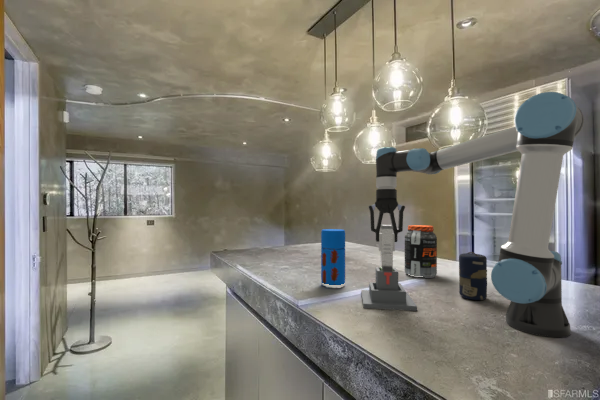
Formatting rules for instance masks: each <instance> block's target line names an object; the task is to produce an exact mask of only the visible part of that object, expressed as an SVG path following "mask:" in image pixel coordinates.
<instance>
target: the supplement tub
mask: <svg viewBox="0 0 600 400" xmlns="http://www.w3.org/2000/svg"><path fill="white" fill-rule="evenodd" d="M437 238H438V237H437V234H436V233H435V232H434V225H425V224H423V225H420V224H419V225H418V224H416V225H415V224H413V225H412V224H409V225H408V226H407V231H406V233H405V234H404V273H405V274H406V273H407V274H410V275H414V276H423V277H425V278H424V279H429V278H430V279H433V278H435V277H437V275H438V265H437V264H438V239H437ZM407 274H406V275H407Z"/></svg>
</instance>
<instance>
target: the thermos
mask: <svg viewBox="0 0 600 400" xmlns="http://www.w3.org/2000/svg"><path fill="white" fill-rule="evenodd" d="M320 235H321V236H320V239H321V240H320V245H321V246H320V247H321V248H320V250H321V251H320V253H321V254H320V256H321V257H320V258H321V259H320V260H321V261H320V263H321V264H320V266H321V267H320V269H321V271H320V274H321V275H320V277H321V279H320V280H321V284H322V283H324V284H329V285H341V284H344V283H345V284H346V230H345V229H340V228H339V229H338V228H337V229H336V228H334V229H333V228H328V229H327V228H326V229H321V233H320Z"/></svg>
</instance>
